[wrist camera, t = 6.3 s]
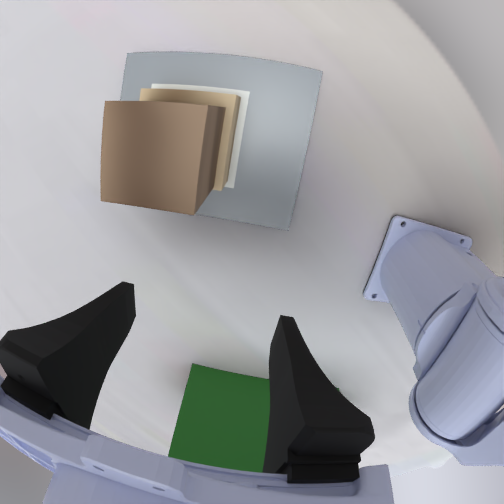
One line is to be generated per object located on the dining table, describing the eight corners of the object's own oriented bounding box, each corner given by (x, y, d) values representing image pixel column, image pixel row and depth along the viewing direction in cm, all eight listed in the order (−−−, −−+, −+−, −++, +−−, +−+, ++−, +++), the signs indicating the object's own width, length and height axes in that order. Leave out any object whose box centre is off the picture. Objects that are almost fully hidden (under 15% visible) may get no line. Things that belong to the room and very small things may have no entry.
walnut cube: (225, 107, 15) (208, 105, 11) (213, 187, 17) (194, 215, 13) (146, 101, 15) (105, 100, 11) (139, 177, 17) (100, 201, 13)
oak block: (241, 97, 17) (236, 94, 15) (227, 180, 20) (221, 191, 18) (157, 90, 17) (141, 88, 15) (148, 169, 20) (132, 178, 17)
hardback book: (187, 396, 34) (149, 564, 12) (192, 363, 30) (142, 569, 9) (315, 417, 35) (322, 575, 13) (338, 388, 31) (358, 574, 10)
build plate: (321, 72, 17) (322, 71, 16) (288, 227, 22) (288, 231, 22) (130, 54, 16) (126, 53, 16) (118, 199, 22) (114, 202, 21)
